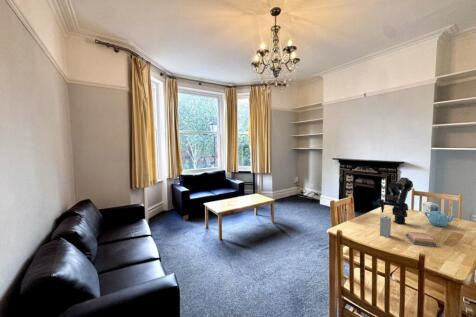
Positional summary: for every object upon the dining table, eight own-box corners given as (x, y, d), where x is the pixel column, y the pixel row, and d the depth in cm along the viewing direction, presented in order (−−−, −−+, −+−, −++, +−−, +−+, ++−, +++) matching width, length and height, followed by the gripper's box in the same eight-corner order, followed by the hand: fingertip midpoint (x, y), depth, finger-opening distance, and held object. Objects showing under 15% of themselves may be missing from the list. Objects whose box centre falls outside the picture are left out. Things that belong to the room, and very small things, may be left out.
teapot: (423, 222, 172) (423, 209, 171) (440, 221, 172) (440, 208, 171) (438, 229, 159) (438, 215, 158) (456, 227, 159) (456, 213, 158)
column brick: (382, 233, 154) (382, 214, 153) (390, 235, 150) (390, 216, 149) (379, 235, 151) (380, 216, 150) (388, 237, 147) (388, 218, 146)
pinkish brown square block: (405, 236, 148) (405, 230, 148) (426, 238, 144) (426, 232, 144) (413, 244, 137) (413, 238, 136) (436, 246, 133) (436, 240, 133)
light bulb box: (439, 217, 180) (439, 205, 180) (429, 217, 182) (430, 205, 181) (430, 213, 191) (430, 201, 190) (421, 213, 192) (422, 201, 191)
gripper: (377, 188, 164) (372, 205, 158) (407, 192, 149) (402, 211, 143) (381, 196, 169) (375, 213, 163) (410, 201, 155) (405, 219, 149)
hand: (389, 214), depth 155 cm, fingers open, 9 cm apart
